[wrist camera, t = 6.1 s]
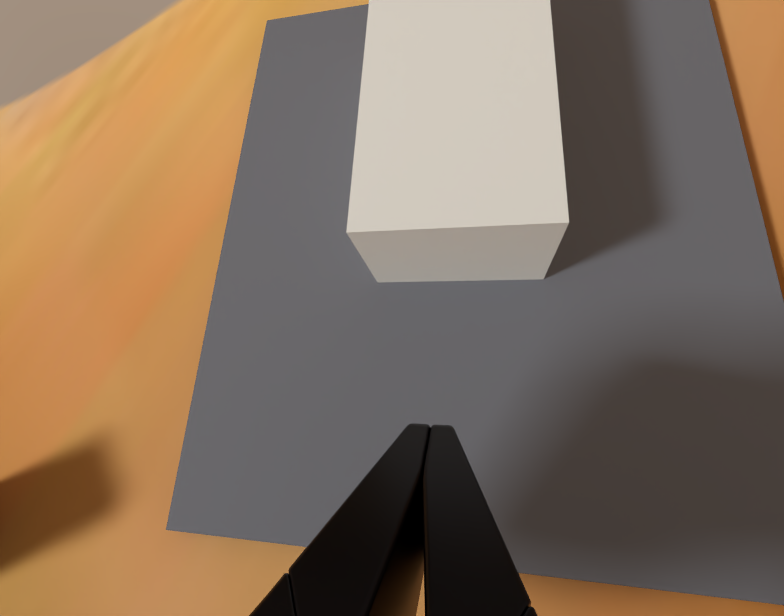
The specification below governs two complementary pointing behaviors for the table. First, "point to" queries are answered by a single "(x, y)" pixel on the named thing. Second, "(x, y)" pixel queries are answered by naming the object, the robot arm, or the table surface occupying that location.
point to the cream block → (458, 142)
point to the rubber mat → (512, 324)
